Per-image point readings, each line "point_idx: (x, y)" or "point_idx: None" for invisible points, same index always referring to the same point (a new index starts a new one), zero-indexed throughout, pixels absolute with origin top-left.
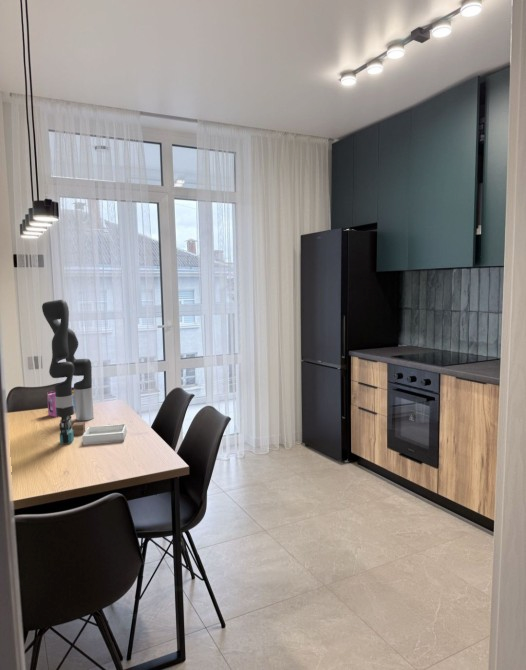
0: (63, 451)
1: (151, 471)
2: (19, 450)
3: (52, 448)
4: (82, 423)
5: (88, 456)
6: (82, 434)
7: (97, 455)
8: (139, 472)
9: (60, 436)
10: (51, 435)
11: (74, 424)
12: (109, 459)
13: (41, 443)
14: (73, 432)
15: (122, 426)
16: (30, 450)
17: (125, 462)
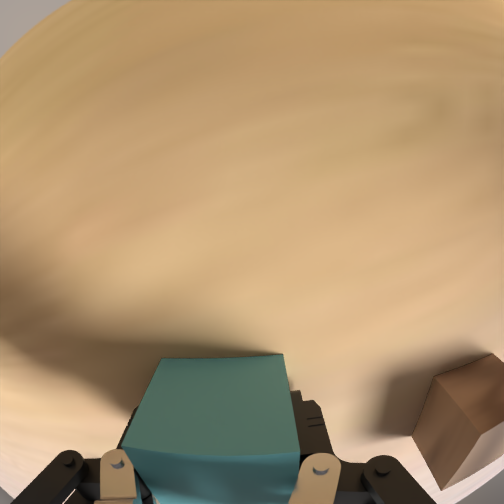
0: (21, 389)
1: (14, 497)
2: (65, 20)
3: (50, 311)
4: (476, 469)
5: (18, 457)
6: (414, 431)
7: (35, 477)
8: (2, 486)
9: (137, 422)
10: (500, 169)
11: (498, 431)
12: (25, 483)
13: (238, 115)
14: (444, 397)
15: None
16: (28, 115)
17: None
